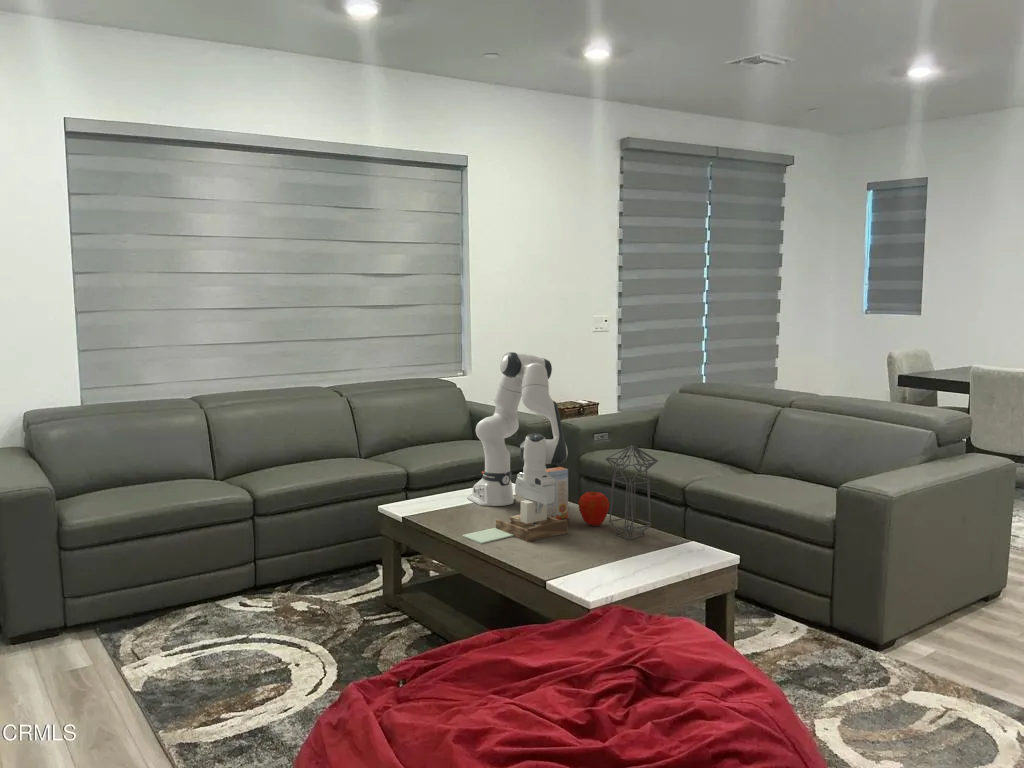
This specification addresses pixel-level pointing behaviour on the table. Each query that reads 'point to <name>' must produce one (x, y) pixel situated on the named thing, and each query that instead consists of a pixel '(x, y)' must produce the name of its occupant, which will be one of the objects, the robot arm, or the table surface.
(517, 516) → the offcut stack
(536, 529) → the wooden frame
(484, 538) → the mat
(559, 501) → the cracker box
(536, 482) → the robot arm
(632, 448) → the geometric lantern
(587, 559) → the table surface
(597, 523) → the apple
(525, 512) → the white rectangular block
